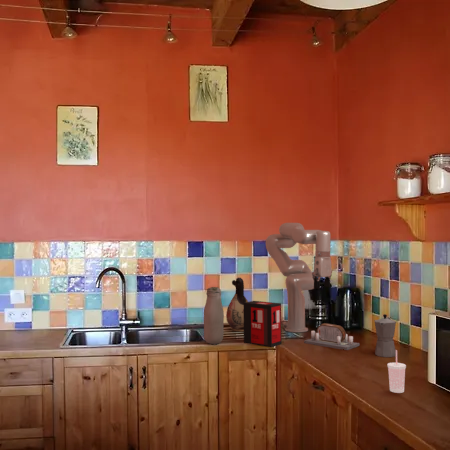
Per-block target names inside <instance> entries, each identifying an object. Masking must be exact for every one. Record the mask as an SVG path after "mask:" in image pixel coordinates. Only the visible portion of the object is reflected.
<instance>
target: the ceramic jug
mask: <svg viewBox="0 0 450 450" xmlns="http://www.w3.org/2000/svg"><path fill="white" fill-rule="evenodd" d="M231 284H232V286H234V287H235V293H234V295H233V296H232V298H231V300H230V302H229V304H228V307H227V310H226V312H225V313H226V314H225V315H226V316H225V317H226V322H227V324H228V325H229V326H230V328H231V329H232V331H233V332H243V333H244V303H245V302H249V300H248V299H247V297H246V296H245V283H244V280H243V278H242V277H237V278H235V279H233V280H232V281H231Z"/></svg>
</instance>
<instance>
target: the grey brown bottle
mask: <svg viewBox="0 0 450 450" xmlns="http://www.w3.org/2000/svg"><path fill="white" fill-rule="evenodd" d="M221 291H222V290H221V288H219V287H218V286H217V287H216V286H211V287H209V288H207V289H206V300H205V305H204V309H203V337H204V340H205V342H206V343H207V344H210V345H217V344H219V343H221V342H222V341H223V339H224V321H225V315H224V308H223V303H222V302H223V301H222V292H221Z"/></svg>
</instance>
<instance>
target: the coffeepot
mask: <svg viewBox="0 0 450 450" xmlns="http://www.w3.org/2000/svg"><path fill="white" fill-rule="evenodd" d="M382 315H383V316H382V317H383V318H379V319H375V320H374V329H375V333H376V336H377V339H376V345H375V350H374V354H375V356H377V357H382V358H396V346H395V341H394V337H395V333H396V332H395V331H396V326H397V325H396V324H397V322H396V321H395V319H394V320H393V319H391V317H387V316H388V315H387V314H382Z"/></svg>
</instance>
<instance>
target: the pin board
mask: <svg viewBox="0 0 450 450" xmlns="http://www.w3.org/2000/svg"><path fill="white" fill-rule="evenodd" d="M304 344H307V345H313V346H320V347H326V348H333V349H338V350H343V349H344V351H349V350H352V349H354V348H357V347H359V346H360V342H354V336H352V335H349V336H348V334H347V333H346V338H345V340H344V341H343V342H341V336H337V343H334V342H328V341H323V340H321V339H320V338H319V333H317V332H316V331H315V330H311V331H310V338H308V339H306V340H305V339H304Z"/></svg>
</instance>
